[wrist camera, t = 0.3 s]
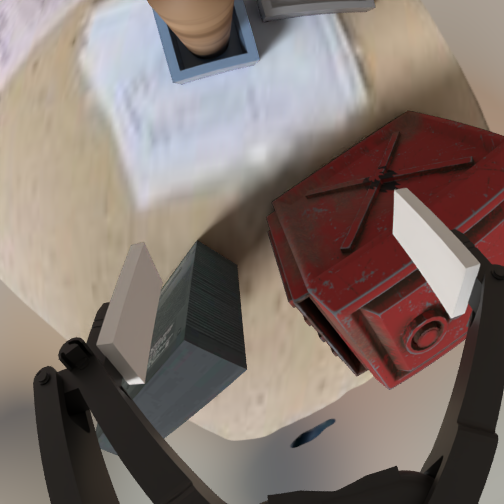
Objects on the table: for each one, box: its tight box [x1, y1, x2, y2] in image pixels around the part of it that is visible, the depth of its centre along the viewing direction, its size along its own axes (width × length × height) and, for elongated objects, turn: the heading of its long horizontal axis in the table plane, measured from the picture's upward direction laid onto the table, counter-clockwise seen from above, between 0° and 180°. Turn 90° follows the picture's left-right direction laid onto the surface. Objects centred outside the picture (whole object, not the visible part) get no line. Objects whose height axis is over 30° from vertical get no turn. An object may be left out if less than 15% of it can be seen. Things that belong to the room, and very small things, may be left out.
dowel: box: [147, 0, 234, 60], centre depth 22 cm, size 5×5×22 cm
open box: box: [153, 0, 260, 85], centre depth 29 cm, size 9×9×7 cm
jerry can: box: [266, 111, 504, 390], centre depth 32 cm, size 30×16×25 cm, turn 126°
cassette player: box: [96, 240, 247, 455], centre depth 42 cm, size 29×7×20 cm, turn 142°
